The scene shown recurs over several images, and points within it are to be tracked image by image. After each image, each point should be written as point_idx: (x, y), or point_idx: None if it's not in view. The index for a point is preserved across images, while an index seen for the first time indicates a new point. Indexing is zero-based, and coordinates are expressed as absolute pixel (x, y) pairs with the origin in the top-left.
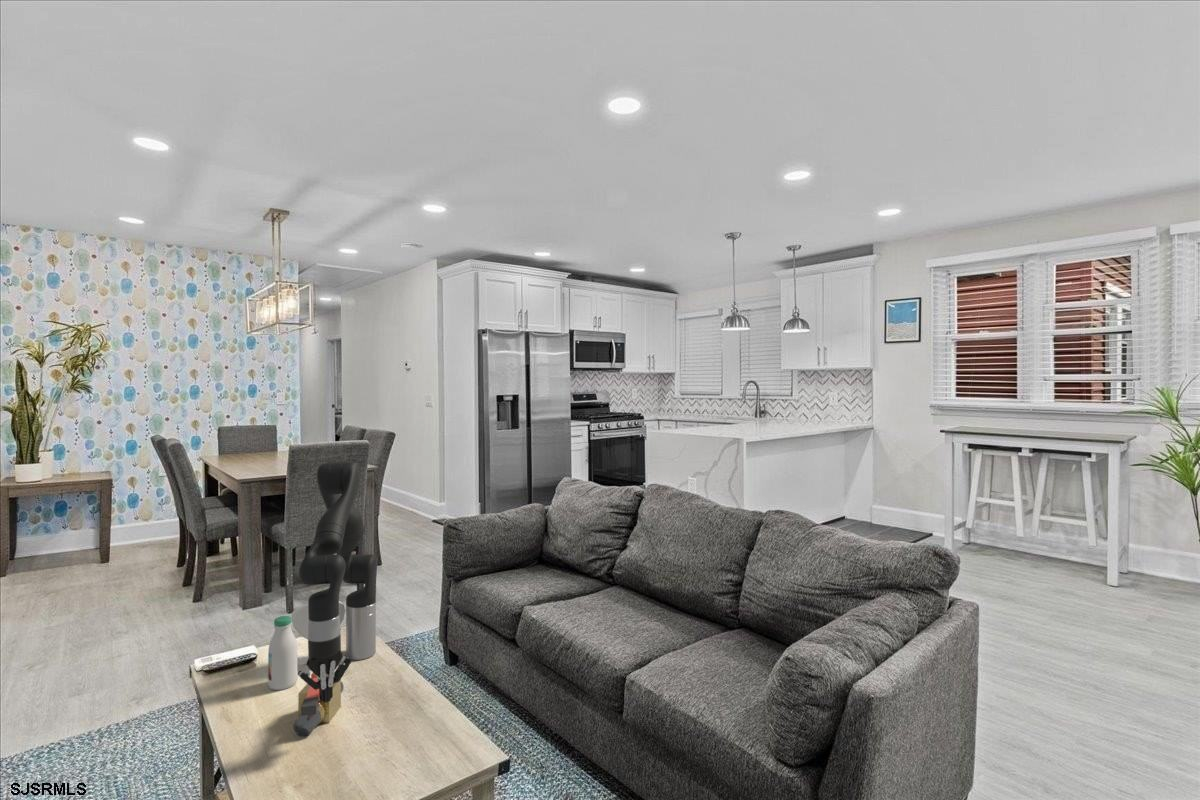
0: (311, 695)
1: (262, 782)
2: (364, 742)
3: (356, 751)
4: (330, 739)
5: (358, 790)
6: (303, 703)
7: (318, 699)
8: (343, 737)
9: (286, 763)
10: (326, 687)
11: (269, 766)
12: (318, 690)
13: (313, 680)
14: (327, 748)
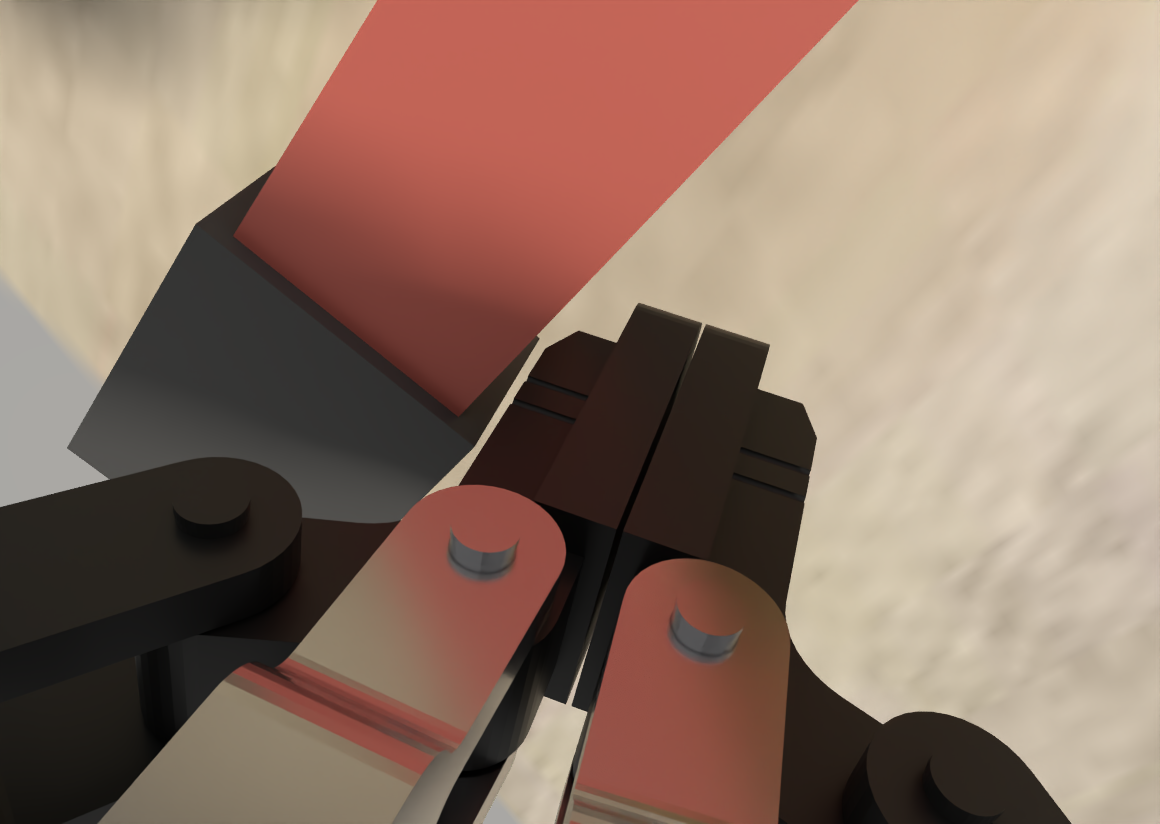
0: (414, 188)
1: (42, 217)
2: (958, 526)
3: (798, 556)
4: (806, 166)
5: (507, 807)
6: (131, 385)
7: (447, 467)
8: (921, 268)
9: (268, 146)
10: (587, 656)
11: (128, 39)
12: (686, 106)
13: (123, 659)
14: (668, 287)
